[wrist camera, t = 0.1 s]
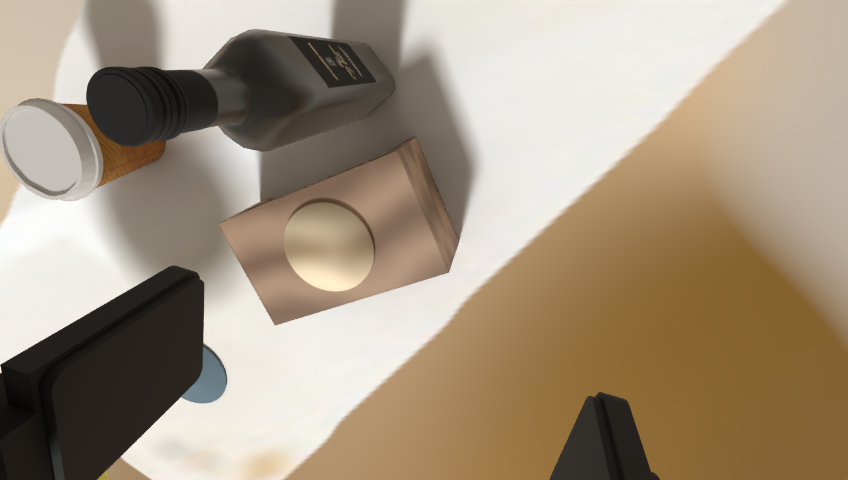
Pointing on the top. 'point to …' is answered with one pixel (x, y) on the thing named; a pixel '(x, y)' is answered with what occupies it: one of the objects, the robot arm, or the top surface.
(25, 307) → the top surface
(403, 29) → the top surface
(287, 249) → the brown rectangular block
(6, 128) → the disposable coffee cup
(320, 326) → the top surface
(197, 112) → the wine bottle
